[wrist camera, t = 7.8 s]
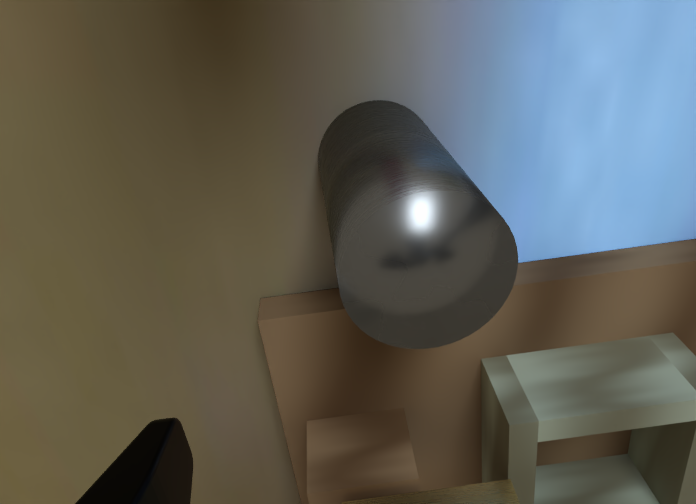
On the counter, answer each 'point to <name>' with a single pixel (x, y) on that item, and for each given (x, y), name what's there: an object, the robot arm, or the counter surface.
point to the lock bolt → (453, 495)
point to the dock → (503, 389)
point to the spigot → (410, 231)
